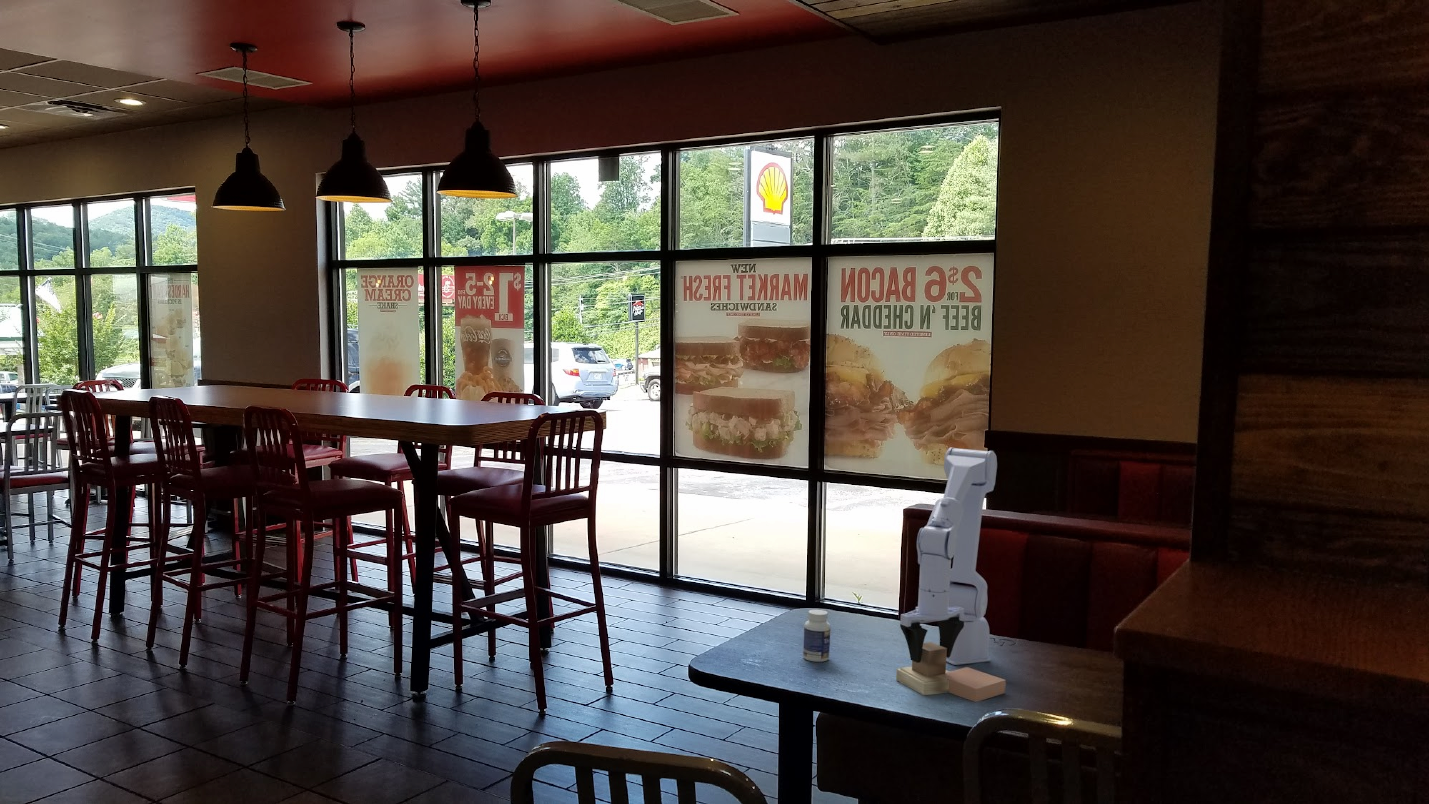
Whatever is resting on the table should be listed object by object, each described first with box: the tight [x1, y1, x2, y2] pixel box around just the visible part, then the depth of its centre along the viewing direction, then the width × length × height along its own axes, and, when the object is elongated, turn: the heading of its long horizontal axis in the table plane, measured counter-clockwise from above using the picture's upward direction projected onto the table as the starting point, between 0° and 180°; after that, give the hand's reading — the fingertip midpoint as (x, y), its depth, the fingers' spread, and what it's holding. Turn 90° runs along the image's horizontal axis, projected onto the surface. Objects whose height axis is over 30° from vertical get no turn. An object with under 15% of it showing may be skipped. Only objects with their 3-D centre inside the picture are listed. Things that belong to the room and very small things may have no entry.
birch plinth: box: [895, 666, 953, 696], centre depth 195 cm, size 9×9×2 cm
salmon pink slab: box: [939, 666, 1007, 703], centre depth 193 cm, size 9×9×2 cm
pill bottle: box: [802, 609, 832, 663], centre depth 208 cm, size 5×5×10 cm
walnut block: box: [911, 641, 947, 677], centre depth 195 cm, size 4×4×5 cm
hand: (930, 658), depth 194 cm, fingers open, 7 cm apart
